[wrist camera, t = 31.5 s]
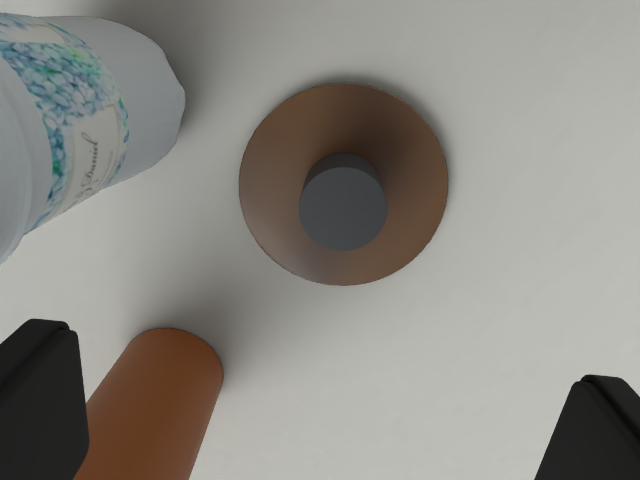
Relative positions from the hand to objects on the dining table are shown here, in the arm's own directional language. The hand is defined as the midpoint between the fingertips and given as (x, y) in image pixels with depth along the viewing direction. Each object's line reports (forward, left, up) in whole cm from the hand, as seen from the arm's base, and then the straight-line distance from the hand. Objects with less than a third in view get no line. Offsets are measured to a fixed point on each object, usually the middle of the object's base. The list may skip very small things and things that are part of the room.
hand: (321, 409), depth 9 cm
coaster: (0, 0, -15) cm, 15 cm away
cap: (0, 0, -14) cm, 14 cm away
